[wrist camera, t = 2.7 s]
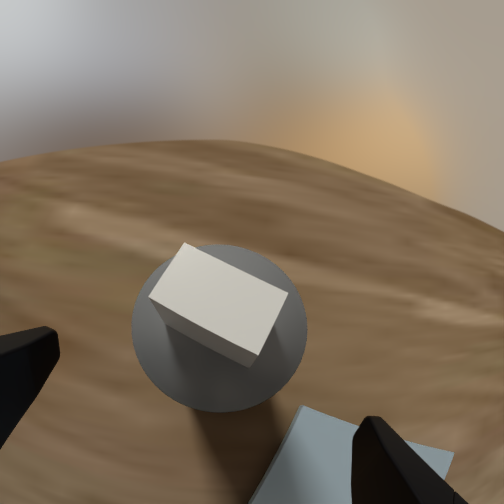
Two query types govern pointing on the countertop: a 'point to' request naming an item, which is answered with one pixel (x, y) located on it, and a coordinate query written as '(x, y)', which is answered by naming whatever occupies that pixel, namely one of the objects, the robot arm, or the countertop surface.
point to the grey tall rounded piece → (219, 328)
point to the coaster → (322, 462)
